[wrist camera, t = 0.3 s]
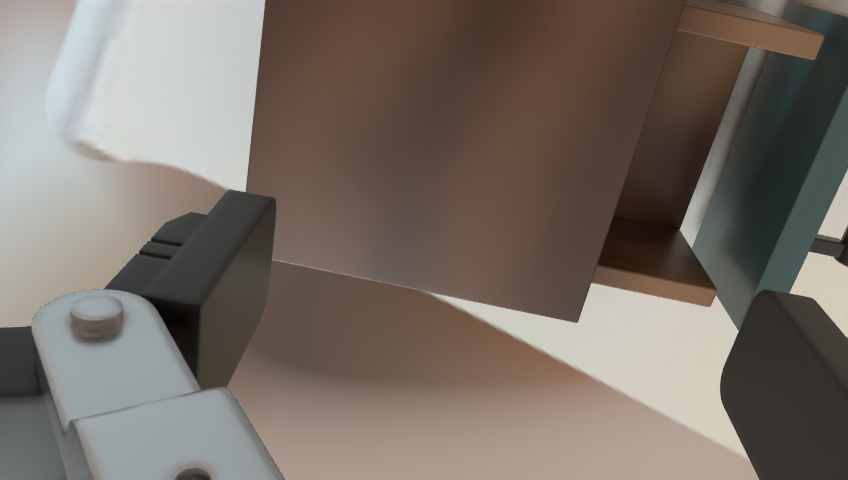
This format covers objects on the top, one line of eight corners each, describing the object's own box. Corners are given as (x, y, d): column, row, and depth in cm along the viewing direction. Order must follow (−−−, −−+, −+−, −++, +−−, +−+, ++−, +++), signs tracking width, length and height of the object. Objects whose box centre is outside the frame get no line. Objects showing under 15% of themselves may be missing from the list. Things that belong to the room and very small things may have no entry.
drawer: (915, 27, 29) (1034, 59, 23) (798, 275, 33) (870, 358, 27) (533, -57, 28) (549, -47, 22) (469, 207, 33) (467, 275, 27)
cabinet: (639, -51, 29) (698, -36, 21) (554, 230, 34) (578, 323, 26) (330, -120, 29) (278, -128, 21) (292, 175, 34) (239, 254, 26)
